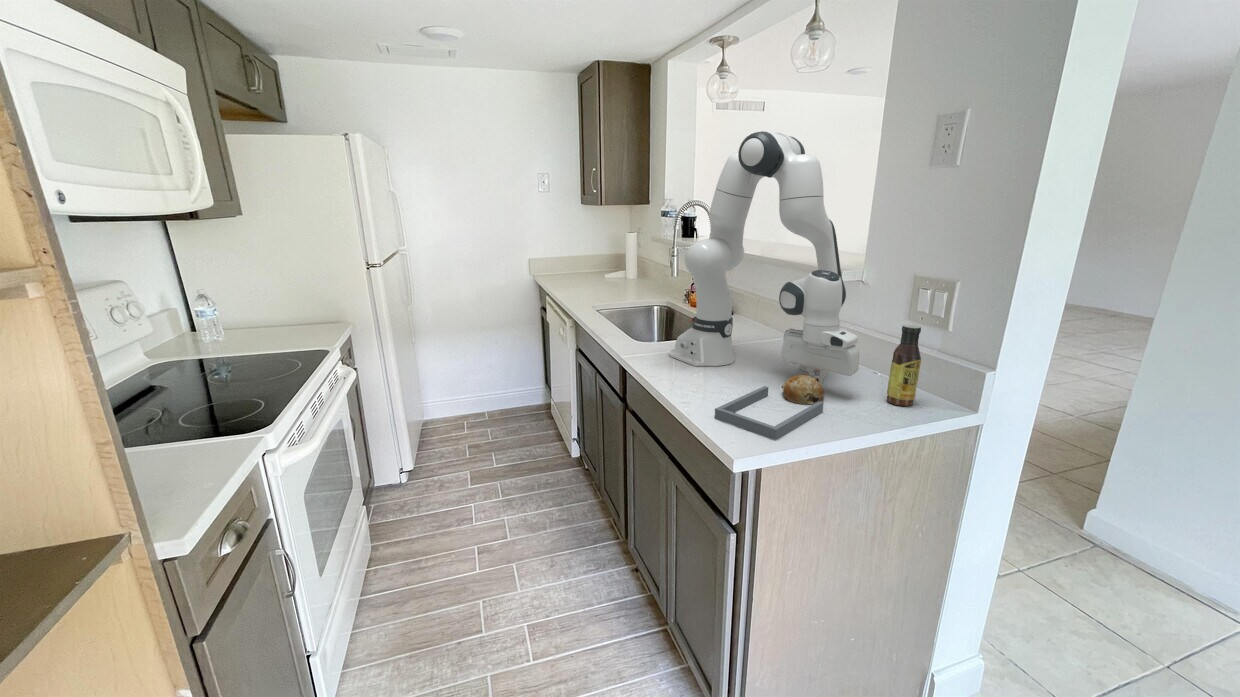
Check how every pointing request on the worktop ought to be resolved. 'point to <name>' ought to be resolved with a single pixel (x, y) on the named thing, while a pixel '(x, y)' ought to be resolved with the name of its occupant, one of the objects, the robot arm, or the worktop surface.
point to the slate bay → (761, 428)
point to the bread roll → (803, 390)
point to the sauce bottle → (905, 368)
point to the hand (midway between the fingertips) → (816, 383)
